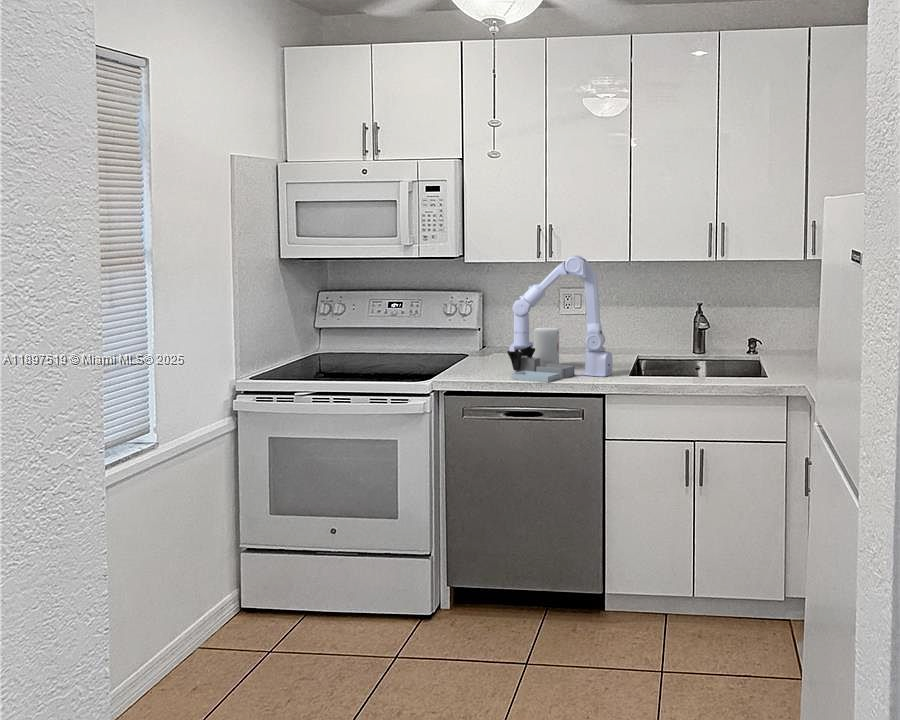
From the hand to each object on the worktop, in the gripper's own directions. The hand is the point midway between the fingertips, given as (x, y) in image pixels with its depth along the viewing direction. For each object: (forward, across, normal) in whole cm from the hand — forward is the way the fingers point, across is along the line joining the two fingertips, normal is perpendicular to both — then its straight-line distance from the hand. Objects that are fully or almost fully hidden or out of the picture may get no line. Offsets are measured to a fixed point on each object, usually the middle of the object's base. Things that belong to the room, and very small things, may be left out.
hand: (521, 368), depth 424 cm
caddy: (+2, 0, +3) cm, 3 cm away
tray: (+2, +10, +12) cm, 16 cm away
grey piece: (+2, -17, +2) cm, 17 cm away
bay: (+2, 0, +14) cm, 14 cm away
